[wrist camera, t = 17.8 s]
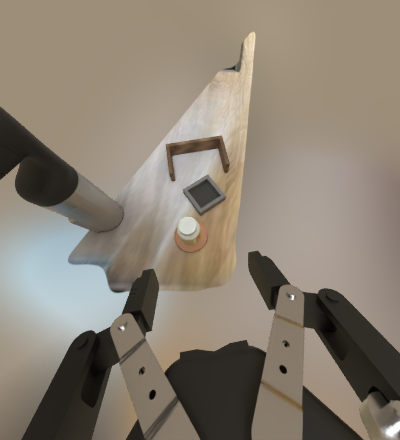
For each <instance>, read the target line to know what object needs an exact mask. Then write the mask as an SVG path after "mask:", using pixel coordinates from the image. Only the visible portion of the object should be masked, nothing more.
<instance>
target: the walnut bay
mask: <svg viewBox="0 0 400 440" xmlns="http://www.w3.org/2000/svg"><path fill="white" fill-rule="evenodd" d="M216 148H218V149H219V153H220V156H221V160H222V164H223V168H224V172H228V169H229V164H230V163H229V160H228V156H227V153H226V149H225V145H224V142H223V138H222V136H216V137H210V138H203V139H197V140H190V141H184V142H177V143H171V144H166V150H167V159H168V167H169V174H170V177H171V180H172V181H175V176H174V168H173V161H172V155H178V154H184V153H191V152H197V151H203V150H210V149H216Z"/></svg>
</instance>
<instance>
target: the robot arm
mask: <svg viewBox="0 0 400 440" xmlns="http://www.w3.org/2000/svg"><path fill="white" fill-rule="evenodd" d="M19 163H20V166H19V169H18V173H17V175H16V179H15V187H16V191H17V193H18V194H19V195H20V196H21V197H22V198H23V199H25V200H26V201H28V202H31V203H33V204H36V205H38V206H41V207H43V208H46V209H48V210H51V211H53V212H56V213H58V214H61V215H64V216H66V217H68V218H69V221H70V222H71V223H73V224H75V225H78V226H81V227H83V228H86V229H89V230H91V231H94V232H97V233H98V232H100V231H109V230H112V229H114V228H115V227H117V226H118V225H119V224H120V222H121V220H122V218H123V209H122V207H121V206H120V205H119V204H118V203H117V202H115V201H114V200H113V199H112V198H110V197H109V196H108V195H107V194H105V193H104V192H103V191H101V190H100V189H99V188H98V187H96V186H95V185H94V184H93V183H91V182H90V181H89V180H88V179H86V178H85V177H84V176H83V175H81V174H80V173H79V172H78V171H76V170H75V169H74V168H73V167H71V166H70V165H69V164H67V163H66V162H65V161H64V160H62V159H61V158H60V157H59V156H57V155H56V154H55V153H54V152H52V151H51V150H50V149H49V148H48V147H46V146H45V145H44V144H43V143H42V142H41V141H39V140H38V139H37V138H36V137H35V136H34V135H33V134H31V133H30V132H29V131H28V130H27V129H26V128H25V127H24V126H22V125H21V124H20V123H19V122H18V121H17V120H15V119H14V118H13V117H12V116H11V115H10V114H8V113H7V112H6V111H5V110H4V109H2V108H1V107H0V179H2V178H3V177H4V176H5V175H6V174H8V173H9V172H10V171H11V170H12V169H13V168H14V167H15V166H17V165H18V164H19ZM248 267H249V272H250V274H251V276H252V278H253V280H254V282H255V284H256V286H257V288H258V289H259V291H260V293H261V295H262V297H263V299H264V301H265V303H266V305H267V307H268V309H269V310H273V309H274V310H275V315H274V318H273V323H272V328H271V333H270V338H269V344H268V348H267V353H266V352H264V351H263V350H261V349H259V348H256V347H253V346H248V343H247V340H244V341H239V342H234V343H230V344H228V345H226V346H224V347H222V348H220V349H219V350H217V351H214V352H213V351H205V350H197V349H196V350H191V351H186V352H181V353H180V359H179V360H177V361H175V362H174V363H173V364H172V365H171V366H170V367H169V368H168V369H167V370H166V371H165V373H164V372H163V370H162V368H161V366H160V365H159V363H158V361H157V359H156V357H155V355H154V354H153V352H152V350H151V348H150V346H149V344H148V343H147V341H146V339H145V335H146V332H149V331H152V325H153V320H154V314H155V308H156V302H157V296H158V291H159V283H158V280H157V277H156V274H155V271H154V269H148V270H144V271H143V273H142V276H141V277H140V278H137V279H136V280H135V282H134V283H133V285H132V288H131V291H130V293H129V296H128V299H127V301H126V304H125V307H124V309H123V312H122V315H121V316H119V317H118V318H117V319H116V320H115V321H114V322H113V323H112V325H111V327H109V328H107V329H105V330H103V331H101V332H99V333H97V334H96V333H95V332H94V331H92V330H90V331H86V332H84V333H82V334H80V335H79V336H78V337H77V338H76V339H75V340H74V341H73V342H72V344H71V345H70V347H69V349H68V351H67V353H66V355H65V357H64V359H63V361H62V363H61V364H60V366H59V368H58V370H57V372H56V374H55V376H54V378H53V380H52V382H51V384H50V386H49V388H48V390H47V392H46V393H45V395H44V397H43V399H42V401H41V403H40V405H39V407H38V409H37V411H36V413H35V415H34V417H33V418H32V420H31V422H30V424H29V426H28V428H27V430H26V432H25V434H24V436H23V438H22V440H91V439H92V436H93V432H94V428H95V425H96V421H97V418H98V414H99V410H100V407H101V403H102V400H103V396H104V393H105V389H106V385H107V382H108V378H109V375H110V371H111V368H112V366H113V365H115V364H116V363H118V362H119V364H120V367H121V370H122V373H123V376H124V379H125V382H126V385H127V388H128V391H129V394H130V397H131V399H132V402H133V405H134V408H135V411H136V414H137V417H138V419H137V421H136V423H135V424H134V426H133V428H132V430H131V432H130V433H129V435H128V437H127V438H126V440H363V439H362V438H361V437H360V436H359V435H358V434H357V433H356V432H355V431H353V429H351V428H350V427H349V426H348V425H347V424H346V423H345V422H343V420H341V419H340V418H339V417H338V416H337V415H336V414H335V413H333V412H332V411H331V410H330V409H329V408H328V407H327V406H326V405H325V404H323V403H322V402H321V401H320V400H319V399H318V398H317V397H316V396H315V395H313V394H312V393H311V392H310V391H309V390H308V389H307V388H305V387H304V386H303V360H304V327H307V328H313V329H315V331H316V333H317V334H318V335H319V337H320V339H321V340H322V342H323V343H324V345H325V346H326V348H327V349H328V351H329V353H330V354H331V356H332V357H333V359H334V360H335V362H336V363H337V365H338V366H339V368H340V369H341V371H342V373H343V374H344V376H345V377H346V379H347V380H348V382H349V383H350V385H351V386H352V388H353V390H354V391H355V392H356V394H357V396H358V397H359V398H360V400H361V402H362V404H361V405H360V409H359V411H360V416H361V419H362V422H363V424H364V426H365V428H366V429H367V432H368V435H369V438H370V440H400V353H399V352H398V351H397V350H396V349H395V348H394V347H393V346H392V345H391V344H390V343H389V342H388V341H387V340H386V339H385V338H384V337H383V336H382V335H381V334H380V333H379V332H378V331H377V330H376V329H375V328H374V327H373V326H372V325H371V324H370V323H369V322H368V321H367V319H365V317H364V316H362V314H360V312H359V311H358V310H357V309H356V308H355V307H354V306H353V305H352V304H351V303H350V302H349V301H348V300H347V299H346V298H345V297H344V296H343V295H342V294H340V293H338V292H337V291H335V290H332V289H325V288H324V289H321V290H319V292H318V294H315V293H306V292H302V291H301V290H300V289H298V288H297V287H295V286H293V285H291V284H290V283H289V282H288V281H287V279H286V278H285V277H284V275H283V274H282V273H281V272H280V270H279V269H278V268H277V266H276V265H275V264H274V262H273V261H272V260H271V259H270V258H268V257H267V256H261V254H260V253H259V252H258V251H254V252H249V253H248Z"/></svg>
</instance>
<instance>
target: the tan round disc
mask: <svg viewBox="0 0 400 440" xmlns="http://www.w3.org/2000/svg"><path fill="white" fill-rule="evenodd" d="M196 221H197V220H196ZM197 222H198V223H199V226H200V233H201V236H200V239H199V241H198V242H197V243H196V244H194V245H187V244H185V243H184V242H183V241H182V239H181V238H180V236H179V235H178V232H177V228H176V230H175V236H174V237H175V241H176V244H177V245H178V246H179V247H180V248H181V249H182V250H184V251H187V252H195V251H198V250H200V249H201V248H202V247H203V246H204V245H205V243H206V241H207V230H206V228H205V226H204V225H203V224H202V223H201V222H200V221H197Z"/></svg>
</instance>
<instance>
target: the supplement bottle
mask: <svg viewBox="0 0 400 440" xmlns="http://www.w3.org/2000/svg"><path fill="white" fill-rule="evenodd" d="M177 232H178V235H179V236H180V238H181V239H182V241H183V242H184V243H185V244H187V245H194V244H196V243H197V242H198V241H199V239H200V236H201V233H200V226H199V223H198V222H197V221H196V220H195V219H193V218H192V217H184V218H182V219H181V220H180V221H179V224H178V227H177Z"/></svg>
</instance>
